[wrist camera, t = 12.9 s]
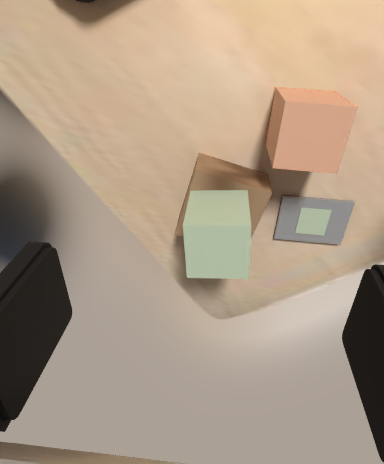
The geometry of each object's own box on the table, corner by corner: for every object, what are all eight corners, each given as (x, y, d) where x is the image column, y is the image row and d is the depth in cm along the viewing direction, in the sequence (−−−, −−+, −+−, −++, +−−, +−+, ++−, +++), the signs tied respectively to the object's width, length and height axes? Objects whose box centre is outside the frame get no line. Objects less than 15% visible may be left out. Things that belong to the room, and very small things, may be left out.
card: (353, 201, 34) (355, 203, 33) (339, 242, 37) (340, 245, 36) (282, 195, 34) (283, 197, 34) (273, 236, 37) (274, 239, 36)
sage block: (247, 190, 30) (251, 225, 25) (245, 238, 32) (248, 279, 27) (190, 190, 30) (182, 225, 25) (193, 237, 33) (186, 277, 28)
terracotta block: (334, 91, 29) (357, 107, 24) (319, 148, 31) (337, 173, 26) (275, 86, 29) (285, 101, 24) (265, 144, 32) (272, 168, 27)
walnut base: (267, 173, 33) (272, 193, 30) (241, 230, 37) (243, 254, 33) (199, 152, 33) (195, 169, 29) (180, 212, 37) (174, 234, 33)
